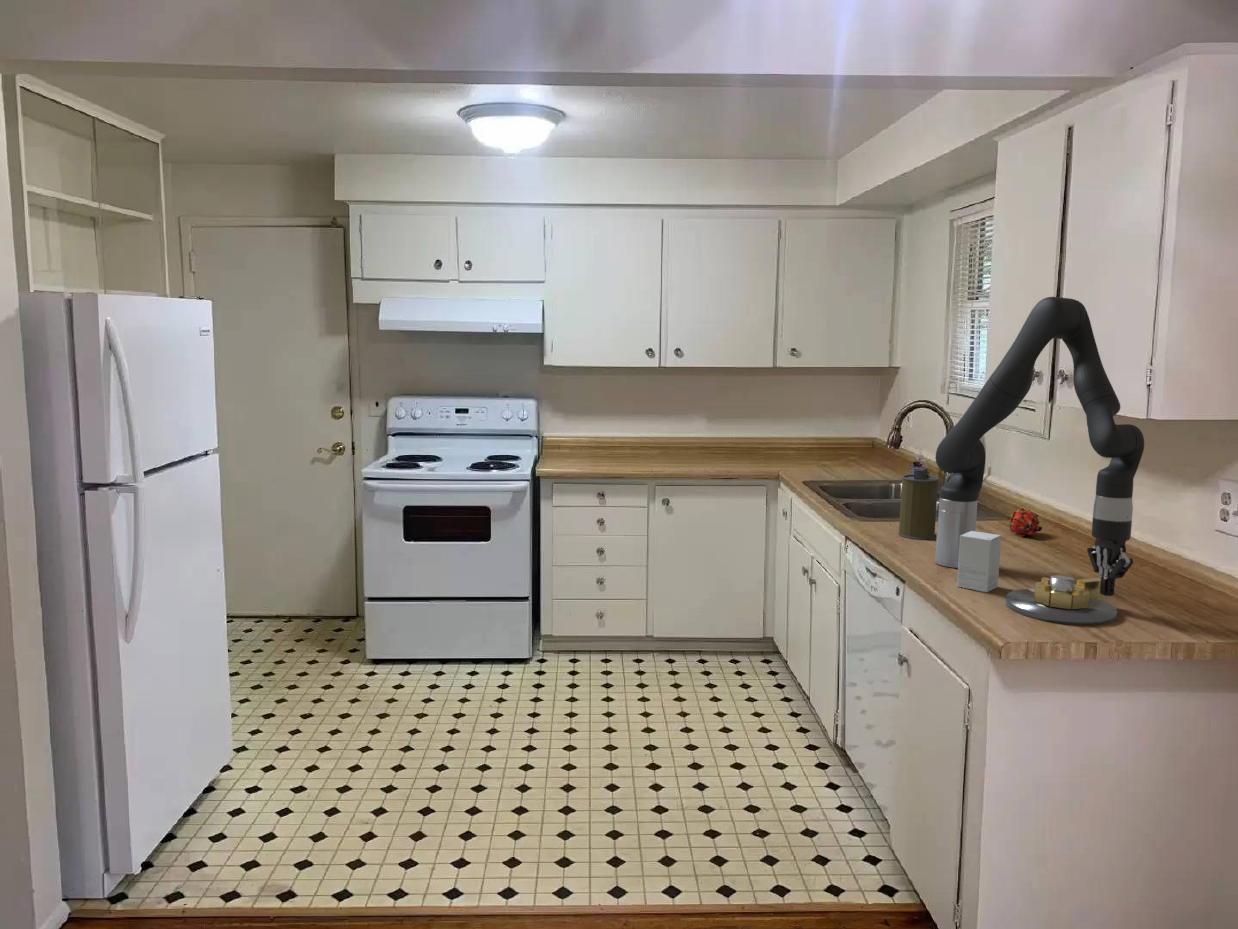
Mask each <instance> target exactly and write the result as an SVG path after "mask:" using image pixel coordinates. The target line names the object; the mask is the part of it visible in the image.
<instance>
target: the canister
mask: <svg viewBox="0 0 1238 929" xmlns="http://www.w3.org/2000/svg"><path fill="white" fill-rule="evenodd" d="M913 472H914V473H912V474H903V475H901V479H902V480H901V494H900V495H901V497H900V508H899V509H900V510H899V523H898V524H899V525H898V532H897V535H898V536H900V537H903V538H906V539H912V540H932V539H934V538H935V537H936V535H935V532H936V522H937V519H936V518H937V504H938V492H939V491H938V490H939V481H940V478H939V477H937V476H933V475H930V472H929V471H928V468H926V467H916V468H914V471H913Z"/></svg>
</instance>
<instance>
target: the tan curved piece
mask: <svg viewBox="0 0 1238 929" xmlns="http://www.w3.org/2000/svg"><path fill="white" fill-rule="evenodd" d="M1100 583H1101V577H1092V578H1083V579H1076V583H1074V588H1072V593H1065V592H1057V591H1053V590H1051V588H1052V586H1051V585H1050V578H1049V577H1047V576H1046V577H1041V581H1038V582H1037V581H1036V582H1035V584H1034V588H1035V591H1034V601H1036V602H1039V603H1041V604H1044V605H1047V606H1050V607H1058V608H1065V609H1080V608H1087V607H1088V600H1097V599H1101V600H1104V599H1105V596H1104V595H1102V594H1101V593H1100Z"/></svg>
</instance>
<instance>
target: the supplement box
mask: <svg viewBox="0 0 1238 929" xmlns="http://www.w3.org/2000/svg"><path fill="white" fill-rule="evenodd" d="M1001 541H1002V535H1001V534H994V533H990V532H988V533H987V532H982V531H977V530H975V531H970V532H967V533H965V534H963V535H960V547H959V562H958V568H957V583H956V587H957V586H958V587H957V588H961V587H962V589H967V590H971V589H972V591H977V592H982V593H989V592H991V591H993V590H994V589H996V588H998V587H999V574H1000V572H999V571H1000V557H1001V544H1002V542H1001Z"/></svg>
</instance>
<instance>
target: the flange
mask: <svg viewBox="0 0 1238 929" xmlns="http://www.w3.org/2000/svg"><path fill="white" fill-rule="evenodd" d="M1075 581H1076V579H1075V578H1073V577H1071V576H1067V575H1051V576H1050V585H1051V586H1052V588H1051V590H1053V591H1057V592H1065V593H1072V588H1074V584H1076V583H1075ZM1034 591H1035V587H1034V588H1033V587H1032V588H1021V589H1016V590H1012V591H1009V592H1008V593H1006V595H1005V606H1006V607H1007V608H1008V607H1009V608H1008V609H1010V610H1011V611H1012V612H1015V613H1017V614H1019V615H1021V616H1025V617H1028V618H1032V619H1035V620H1038V621H1042V622H1043V621H1044V622H1047V623H1048V622H1049V623H1054V624H1059V625H1061V624H1062V625H1069V626H1070V625H1071V626H1100V625H1101V626H1102V625H1107V624H1111V623H1113V622H1115V621H1116V620H1117V618H1118V617H1117V615H1118V609H1117V607H1116V606H1115V605H1113V604H1112V603H1110V602H1108V601H1106V600H1104V599H1097V600H1088V607H1087V608H1080V609H1065V608H1058V607H1050V606H1047V605H1044V604H1041V603H1039V602H1036V601H1034Z"/></svg>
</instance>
